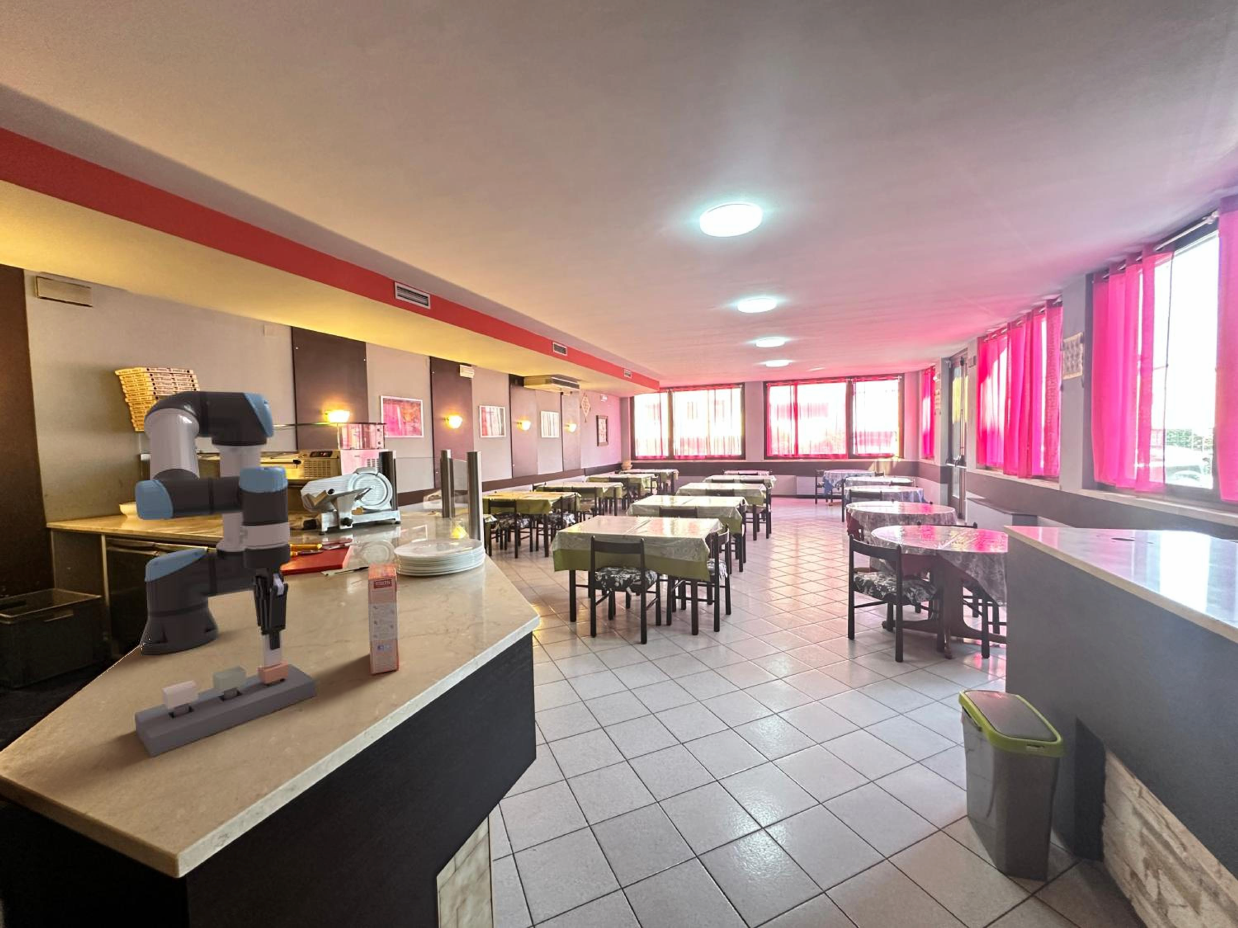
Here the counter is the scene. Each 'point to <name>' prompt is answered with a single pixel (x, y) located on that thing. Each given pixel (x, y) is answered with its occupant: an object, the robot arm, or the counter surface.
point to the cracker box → (383, 618)
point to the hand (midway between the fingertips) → (273, 663)
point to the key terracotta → (273, 673)
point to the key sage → (229, 681)
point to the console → (220, 711)
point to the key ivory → (180, 697)
